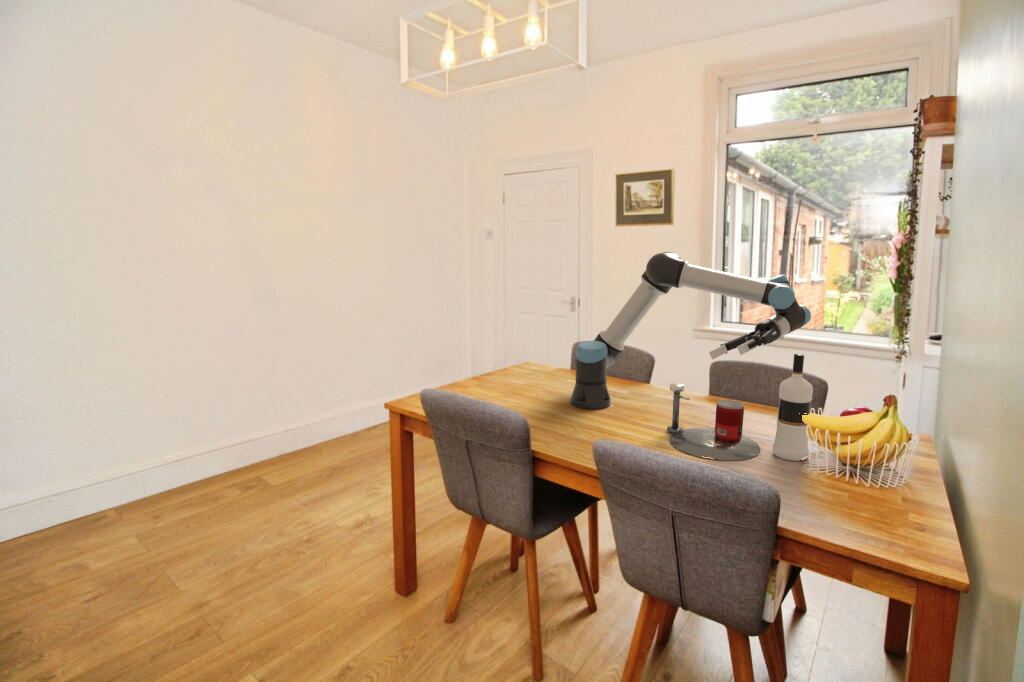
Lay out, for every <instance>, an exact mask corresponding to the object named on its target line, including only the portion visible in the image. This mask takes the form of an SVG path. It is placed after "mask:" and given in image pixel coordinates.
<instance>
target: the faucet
mask: <svg viewBox="0 0 1024 682" xmlns="http://www.w3.org/2000/svg"><path fill="white" fill-rule="evenodd" d="M669 391H672V392H673V395H672V396H673V397H672V399H673V400H672V401H673V402H672V418H671V419H672V421H671V425H668V426H667V428H666V431H668V433H669V432H670V433H669V434H672V433H682V432H683V430H684V428H683V427H681V426H679V425H680V422H679V420H680V405H681V404H680V403H681V399H682V400H686V401H690V400H691V399H690V397H688V396H687V397H686V396H683V395H681V393H683V392H685V384H683V383H678V382H677V383H670V385H669Z"/></svg>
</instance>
